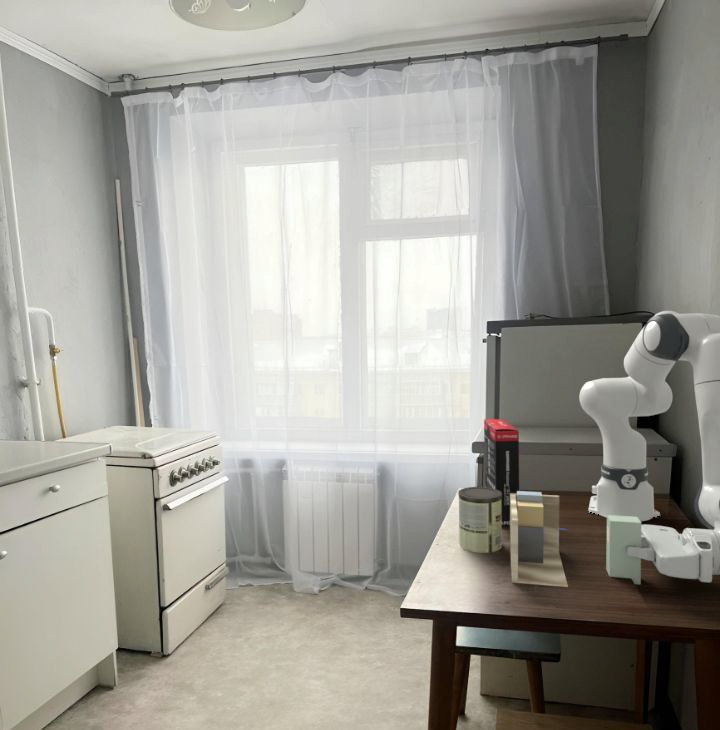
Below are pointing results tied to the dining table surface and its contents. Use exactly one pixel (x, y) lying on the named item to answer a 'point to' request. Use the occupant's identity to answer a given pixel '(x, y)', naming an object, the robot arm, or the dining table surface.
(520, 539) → the bookend
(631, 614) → the dining table surface
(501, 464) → the graphics card box
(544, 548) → the shelf
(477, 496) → the coffee can
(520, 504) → the shelved books
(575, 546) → the dining table surface
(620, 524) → the boxed book
